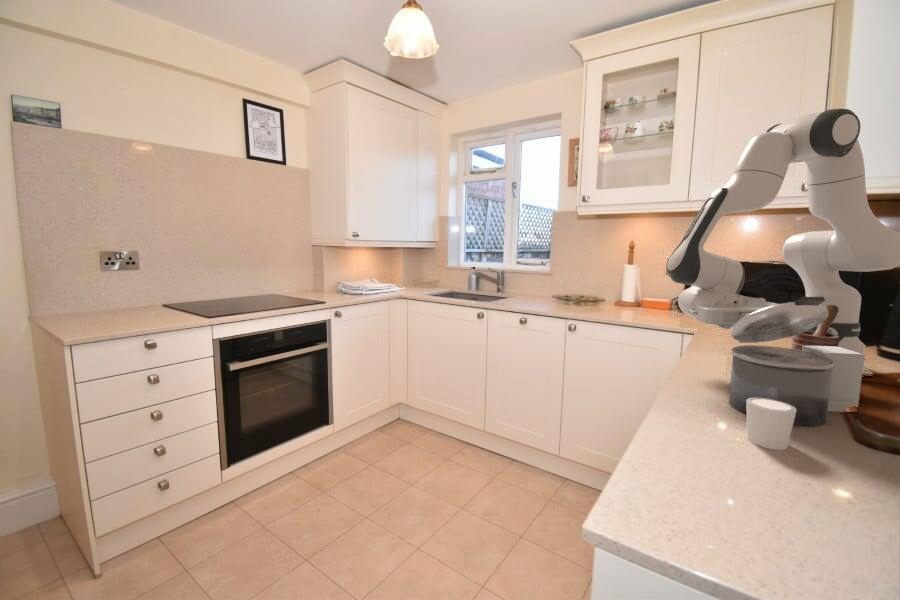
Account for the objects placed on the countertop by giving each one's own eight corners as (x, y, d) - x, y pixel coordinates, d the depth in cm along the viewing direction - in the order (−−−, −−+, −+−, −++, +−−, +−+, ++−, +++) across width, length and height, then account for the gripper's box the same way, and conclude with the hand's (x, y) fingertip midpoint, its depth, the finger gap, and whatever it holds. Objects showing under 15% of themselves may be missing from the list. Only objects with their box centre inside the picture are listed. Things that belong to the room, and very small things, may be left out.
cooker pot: (710, 395, 93) (714, 345, 92) (781, 395, 93) (786, 345, 92) (766, 427, 77) (772, 366, 75) (852, 427, 77) (860, 366, 75)
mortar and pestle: (790, 374, 110) (798, 301, 107) (833, 381, 104) (843, 304, 101) (785, 384, 101) (794, 306, 99) (832, 392, 95) (843, 309, 93)
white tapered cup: (779, 455, 66) (784, 414, 65) (734, 438, 72) (738, 400, 72) (800, 446, 69) (804, 407, 69) (755, 430, 76) (759, 394, 75)
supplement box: (858, 413, 83) (866, 354, 82) (817, 411, 85) (824, 352, 83) (832, 400, 90) (839, 345, 89) (795, 398, 92) (801, 344, 90)
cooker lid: (712, 344, 92) (709, 336, 93) (784, 344, 92) (781, 336, 93) (771, 300, 76) (766, 291, 77) (859, 300, 76) (853, 291, 77)
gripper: (684, 297, 100) (721, 306, 86) (767, 297, 99) (817, 306, 86) (682, 322, 101) (718, 335, 87) (765, 322, 100) (814, 335, 87)
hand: (768, 321), depth 86 cm, fingers closed, pressing on cooker lid
